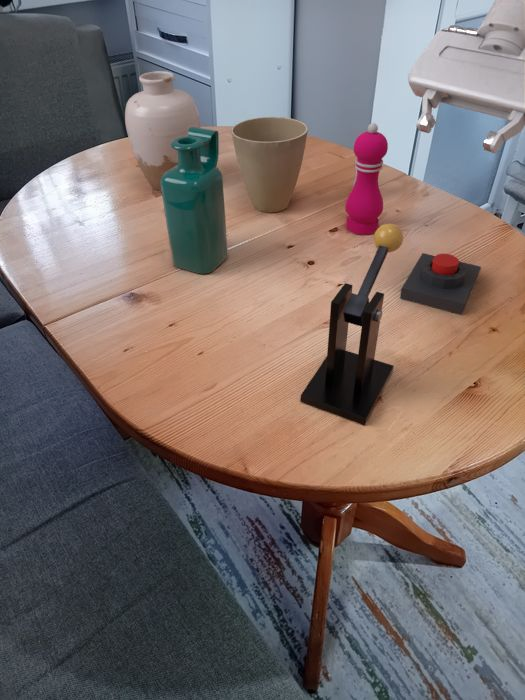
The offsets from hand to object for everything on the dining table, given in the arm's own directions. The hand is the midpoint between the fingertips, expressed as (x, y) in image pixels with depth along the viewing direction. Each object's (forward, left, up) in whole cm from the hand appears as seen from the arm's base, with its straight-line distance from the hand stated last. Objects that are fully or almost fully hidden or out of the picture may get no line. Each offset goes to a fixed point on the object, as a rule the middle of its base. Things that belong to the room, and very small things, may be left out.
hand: (454, 139), depth 67 cm
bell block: (-1, -9, -27) cm, 29 cm away
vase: (+65, -24, -27) cm, 74 cm away
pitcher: (+40, +1, -27) cm, 48 cm away
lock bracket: (+4, +20, -27) cm, 34 cm away
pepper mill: (+18, -23, -27) cm, 40 cm away
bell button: (-1, -9, -24) cm, 25 cm away
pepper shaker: (+23, -37, -27) cm, 51 cm away
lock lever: (+4, +14, -13) cm, 20 cm away
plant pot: (+39, -24, -27) cm, 53 cm away
